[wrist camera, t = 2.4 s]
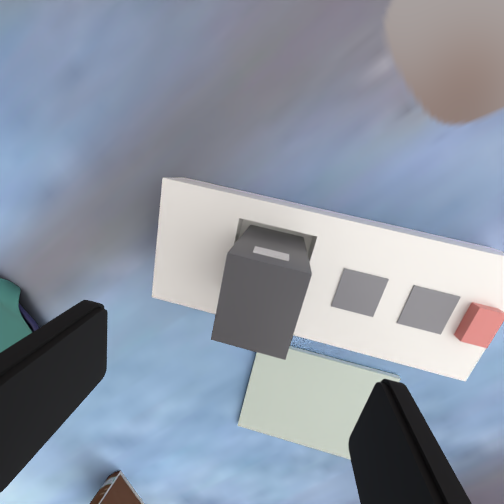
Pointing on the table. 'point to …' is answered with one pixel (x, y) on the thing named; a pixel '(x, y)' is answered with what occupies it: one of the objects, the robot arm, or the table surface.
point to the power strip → (342, 276)
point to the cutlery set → (13, 316)
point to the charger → (262, 291)
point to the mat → (308, 398)
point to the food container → (117, 491)
